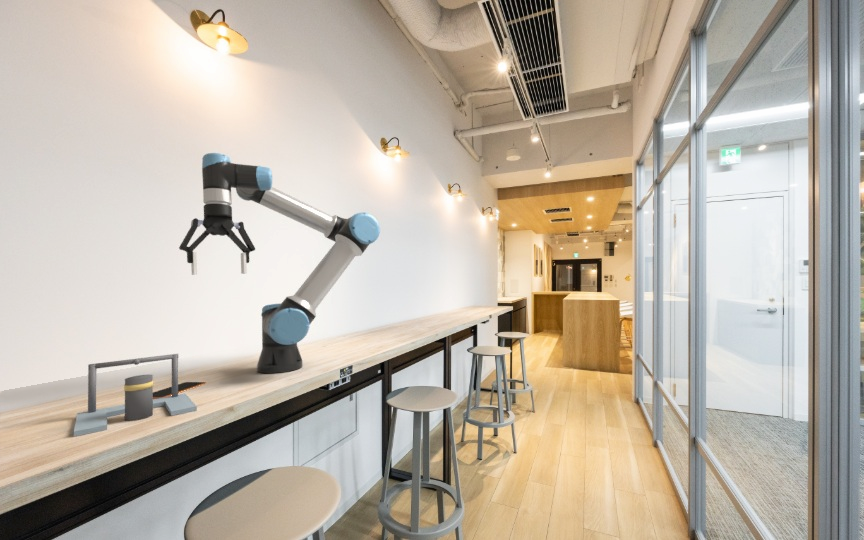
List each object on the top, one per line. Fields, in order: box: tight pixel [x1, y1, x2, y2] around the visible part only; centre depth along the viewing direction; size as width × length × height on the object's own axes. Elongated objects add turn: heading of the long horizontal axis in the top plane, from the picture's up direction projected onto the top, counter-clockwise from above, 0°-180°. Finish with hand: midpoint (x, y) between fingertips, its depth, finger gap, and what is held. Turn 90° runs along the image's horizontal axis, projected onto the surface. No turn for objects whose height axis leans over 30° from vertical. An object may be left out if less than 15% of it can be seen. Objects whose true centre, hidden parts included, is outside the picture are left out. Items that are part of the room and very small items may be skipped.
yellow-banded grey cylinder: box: [124, 374, 154, 422], centre depth 84 cm, size 5×5×9 cm
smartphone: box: [153, 381, 207, 399], centre depth 106 cm, size 8×17×1 cm, turn 173°
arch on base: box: [73, 353, 198, 437], centre depth 86 cm, size 21×16×12 cm
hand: (220, 274), depth 112 cm, fingers open, 13 cm apart
